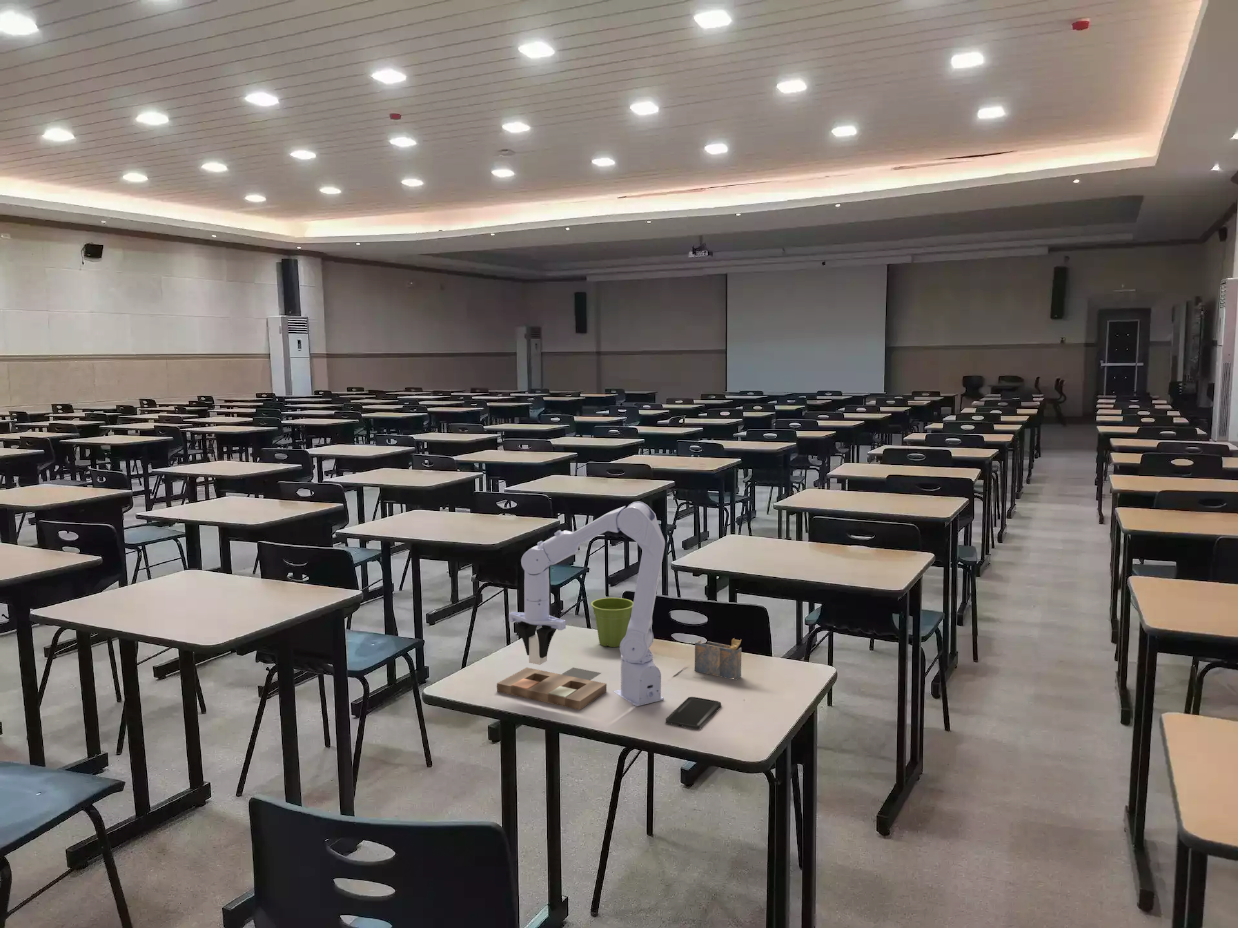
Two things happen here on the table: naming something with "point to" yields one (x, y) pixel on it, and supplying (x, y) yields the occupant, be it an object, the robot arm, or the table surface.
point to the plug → (535, 651)
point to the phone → (693, 713)
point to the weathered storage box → (718, 659)
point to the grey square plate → (581, 673)
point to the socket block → (552, 688)
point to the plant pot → (612, 619)
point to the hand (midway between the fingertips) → (536, 655)
